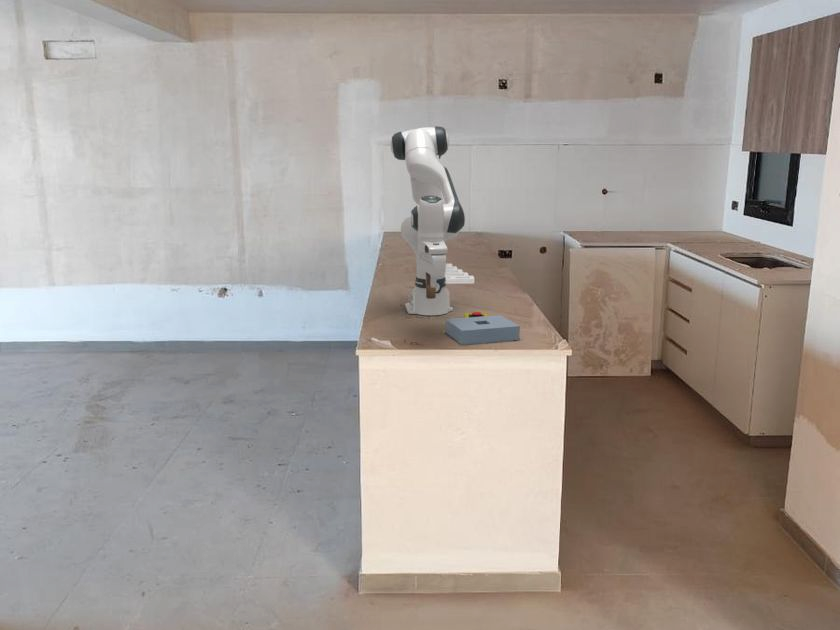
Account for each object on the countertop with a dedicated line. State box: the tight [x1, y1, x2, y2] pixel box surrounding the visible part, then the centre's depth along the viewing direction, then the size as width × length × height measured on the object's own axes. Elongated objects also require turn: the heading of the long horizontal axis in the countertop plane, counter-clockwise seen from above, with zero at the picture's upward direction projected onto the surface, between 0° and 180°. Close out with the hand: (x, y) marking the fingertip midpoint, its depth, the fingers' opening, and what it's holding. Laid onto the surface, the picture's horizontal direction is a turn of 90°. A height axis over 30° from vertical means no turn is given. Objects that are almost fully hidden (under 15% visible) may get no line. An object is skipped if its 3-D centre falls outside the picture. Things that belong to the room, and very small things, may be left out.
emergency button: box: [464, 311, 489, 318], centre depth 276 cm, size 9×4×15 cm
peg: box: [426, 272, 436, 299], centre depth 250 cm, size 3×3×9 cm
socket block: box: [445, 314, 521, 346], centre depth 258 cm, size 17×21×5 cm
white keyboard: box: [445, 263, 476, 285], centre depth 375 cm, size 45×18×3 cm, turn 0°
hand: (430, 285), depth 250 cm, fingers closed on peg, 3 cm apart
